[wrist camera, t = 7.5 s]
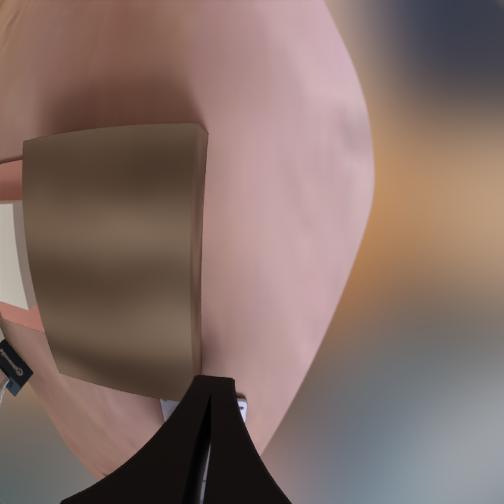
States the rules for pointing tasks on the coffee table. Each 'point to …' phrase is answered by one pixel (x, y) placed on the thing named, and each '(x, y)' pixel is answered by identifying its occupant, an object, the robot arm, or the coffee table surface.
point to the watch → (12, 370)
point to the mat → (10, 188)
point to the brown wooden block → (119, 252)
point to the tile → (14, 257)
